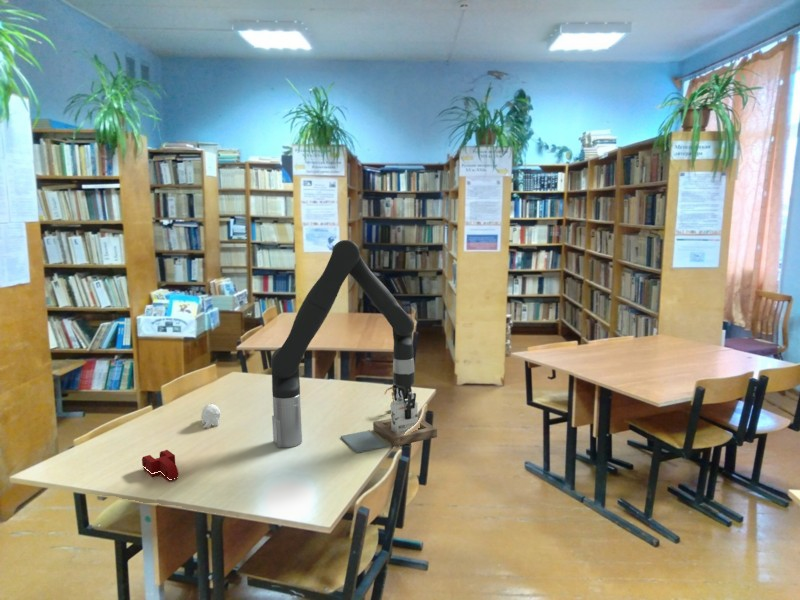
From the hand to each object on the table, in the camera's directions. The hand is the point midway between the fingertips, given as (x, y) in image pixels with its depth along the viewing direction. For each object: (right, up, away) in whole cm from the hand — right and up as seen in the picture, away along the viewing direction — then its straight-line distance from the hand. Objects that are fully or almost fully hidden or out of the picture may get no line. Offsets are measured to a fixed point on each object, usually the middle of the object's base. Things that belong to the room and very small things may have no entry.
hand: (404, 416), depth 193 cm
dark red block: (-74, -12, -28) cm, 80 cm away
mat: (-14, -8, -6) cm, 17 cm away
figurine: (-3, -3, +24) cm, 24 cm away
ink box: (0, -7, +1) cm, 7 cm away
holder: (0, -6, +1) cm, 6 cm away
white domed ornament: (-74, -6, +13) cm, 76 cm away
